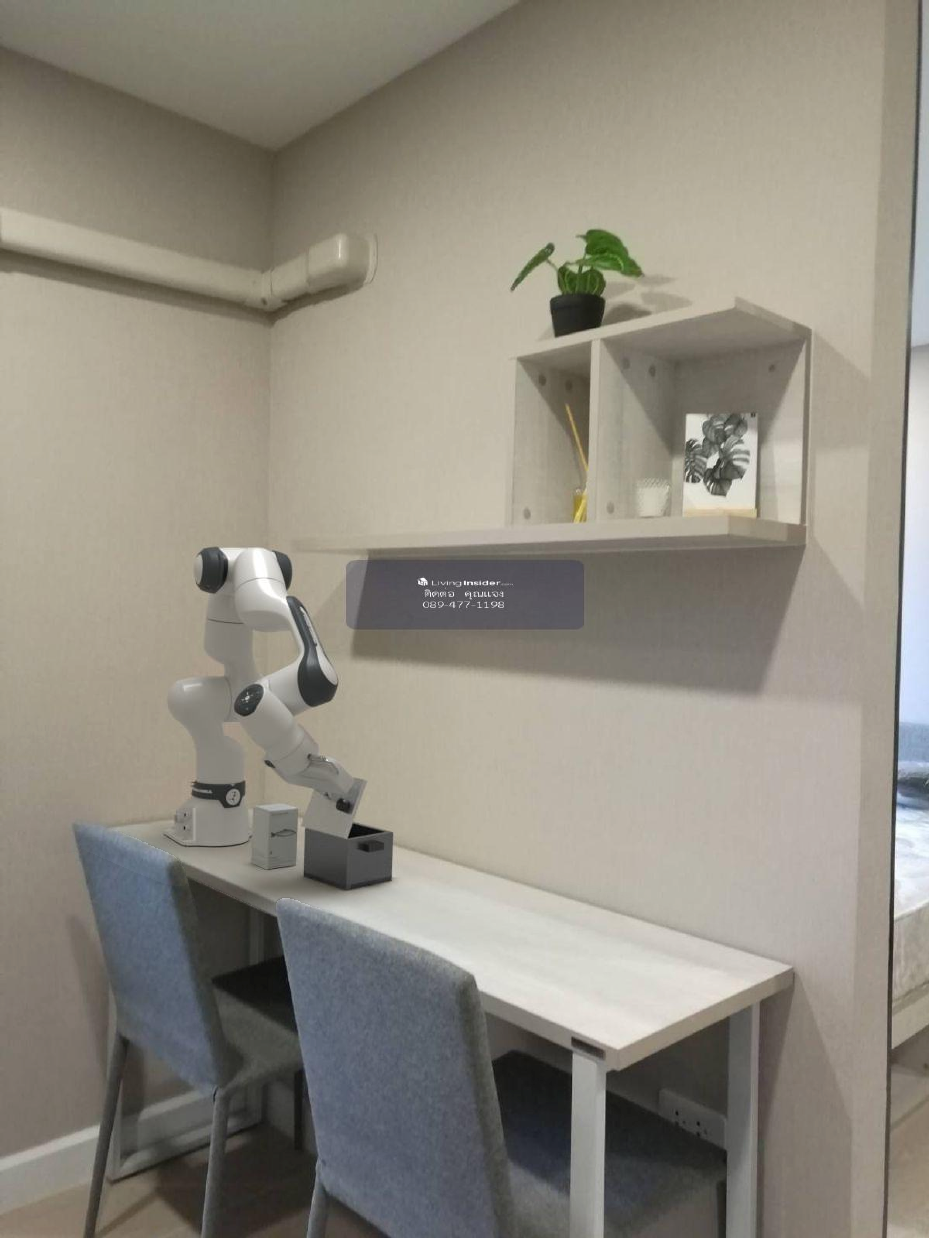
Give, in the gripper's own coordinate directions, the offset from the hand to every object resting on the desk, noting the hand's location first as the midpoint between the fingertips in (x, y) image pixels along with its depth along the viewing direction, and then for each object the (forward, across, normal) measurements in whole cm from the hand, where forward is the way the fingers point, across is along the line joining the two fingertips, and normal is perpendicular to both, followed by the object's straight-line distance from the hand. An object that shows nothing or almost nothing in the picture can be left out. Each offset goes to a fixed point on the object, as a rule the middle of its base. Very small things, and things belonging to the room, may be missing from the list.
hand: (334, 798), depth 200 cm
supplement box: (+12, +20, +12) cm, 26 cm away
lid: (+2, +1, +1) cm, 2 cm away
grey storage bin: (+15, +1, +9) cm, 18 cm away
